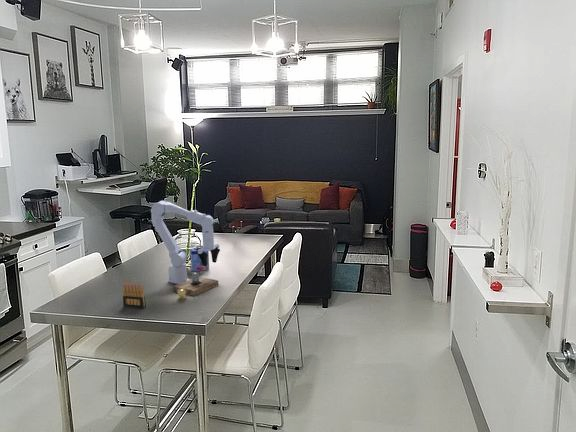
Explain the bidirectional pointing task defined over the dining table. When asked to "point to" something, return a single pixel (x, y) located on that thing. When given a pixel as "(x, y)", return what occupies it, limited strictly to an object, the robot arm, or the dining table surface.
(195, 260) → the ink cartridge box
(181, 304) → the dining table surface
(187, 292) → the hole board
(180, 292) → the short pin
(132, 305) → the ammunition clip
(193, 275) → the tall pin
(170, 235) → the robot arm
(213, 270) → the dining table surface
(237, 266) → the dining table surface
